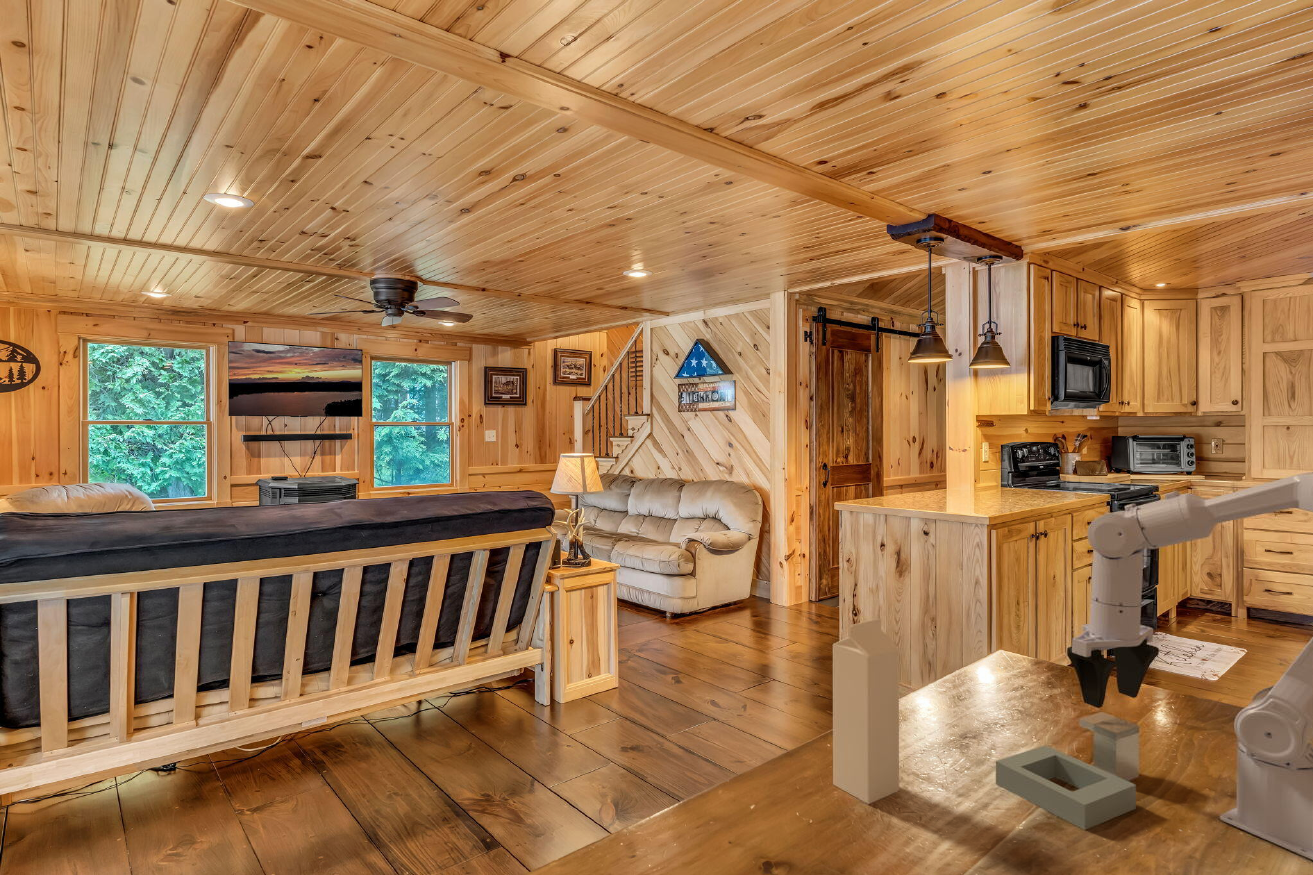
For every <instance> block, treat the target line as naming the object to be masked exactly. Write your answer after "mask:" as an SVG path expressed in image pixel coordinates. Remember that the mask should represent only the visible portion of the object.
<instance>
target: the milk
mask: <svg viewBox="0 0 1313 875" xmlns="http://www.w3.org/2000/svg"><path fill="white" fill-rule="evenodd" d="M899 648H900V647H898V645H897V644H896V643H895V642H894V641H893V640H892V639H891V638H890V637H889V636H888V635H887V634H886V633H885V632H884V630H882V620H881V618H874V619H872V620H871V619H870V620H867V621H862V622H859V623H854V624H851V625H850V626H849V637H846V638H844V639H841V640H839V641H837V642H835V643H833V644H832V760H833V761H832V765H833V766H832V768H833V770H832V775H833V776H832V777H833V778H832V780H833V782H832V784H833V786H835V787H837V788H838V789H840V790H843V791H844V792H846V793H847V794H848V795H851V796H852V797H853V798H856V799H858V800H860V801H861V802H863V803H865V804H867V805H870V804H873V803H874V802H877V801H879V800H881V799H883V798H886V797H888V796H890V795H894V794H895V793H897V792H899V791H900V728H899V727H900V649H899Z"/></svg>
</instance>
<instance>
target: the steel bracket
mask: <svg viewBox="0 0 1313 875" xmlns="http://www.w3.org/2000/svg"><path fill="white" fill-rule="evenodd" d="M1078 721H1079V722H1078V724H1079V725H1078V727H1082V728H1084V729H1086V730H1089V731H1091V732H1093V748H1092V749H1093V750H1092V751H1093V758H1092V759H1093V762H1092V763H1093V765H1092V766H1094V767H1097V768H1099V769H1101V770H1103V771H1106V772H1108V773H1110V774H1112V775H1115V776H1117V777H1119V778H1122V779H1124V780H1126V781H1128V782H1130V781H1131V780H1135V779H1137V778H1139V777H1140V776H1139V773H1140V769H1139V768H1140V766H1139V765H1140V725H1139V724H1137V723H1133V722H1132V721H1128V720H1126V719H1122V718H1120V717H1117V716H1115V715H1111V714H1110V713H1109V714H1108V713H1106V712H1103V711H1100V712H1096V713H1093V714H1089V715H1087V716H1084V717H1080V718H1078Z"/></svg>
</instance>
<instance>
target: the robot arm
mask: <svg viewBox="0 0 1313 875" xmlns="http://www.w3.org/2000/svg"><path fill="white" fill-rule="evenodd" d="M1163 496H1164V499H1160V500H1155V501H1152V502H1148V503H1144V504H1141V505H1137V504H1136V503H1130V504H1127V505H1124V510H1120V511H1114V512H1105V513H1104V514H1103V515H1100V516H1098V517H1096V518H1095V519H1093V520H1092V521H1091V523H1090V524H1089V525H1088V528H1087V533H1086V534H1087V540H1088V543H1089V545H1090V546H1091V548H1092V549H1093V552H1092V553H1093V555H1092V565H1091V580H1090V581H1091V583H1090V604H1089V606H1090V608H1089V623H1085V624H1082V625H1081V628H1080V629H1081V630H1082V633H1081V634H1080V635H1078V636H1076V637H1072V639H1071V640H1072V642H1071V646H1068V647H1067V649H1066V655H1067V658H1068V659H1069V661H1070V662H1071V663H1072V666H1073V669H1074V671H1075V673H1076V675H1077V678H1078V683H1079V686H1080V690H1081V694H1082V696H1081V697H1082V699H1083V703H1084V704H1087V705H1088V706H1091V707H1094V708H1097V709H1101V708H1103V705H1104V703H1105V699H1106V692H1107V685H1108V682H1109V678H1110V676H1111V674H1112V672H1113V669H1114V668H1116V685H1117V690H1118V693H1119V694H1122V695H1124V696H1127V697H1130V698H1132V699H1135V698H1137V697H1138V695H1139V692H1140V689H1141V687H1142V684H1143V681H1144V678H1145V676H1146V674H1147V671H1148V669H1149V668H1150V666H1151V665H1152V663H1153V661H1154V660H1155V659H1156V658H1157V657H1158V656H1159V654H1160V653H1159V652H1160V649H1159V647H1157V646H1155V645H1153V644H1149V643H1152V642H1153V641H1154V628H1152V627H1150V626H1146V625H1142V624H1141V616H1142V615H1141V613H1142V612H1141V611H1142V610H1141V609H1142V596H1143V595H1142V592H1143V591H1142V590H1143V576H1144V575H1143V572H1144V571H1143V560H1144V558H1143V556H1144V552H1143V551H1144V550H1145V549H1150V550H1156V549H1159V548H1160V549H1161V548H1165V547H1169V546H1173V545H1178V544H1183V543H1188V542H1193V541H1196V540H1202V539H1205V538H1208V537H1210V536H1211V535H1212V533H1213V530H1214V529H1215V527H1216V525H1218V524H1221V523H1226V522H1230V521H1234V520H1241V519H1246V518H1249V517H1250V518H1251V517H1255V516H1260V515H1265V514H1270V513H1274V512H1275V513H1276V512H1280V511H1285V510H1289V509H1298V510H1303V511H1307V512H1310V513H1313V471H1311V472H1305V473H1299V474H1295V475H1291V476H1287V477H1284V478H1281V479H1278V480H1272V481H1269V482H1264V483H1262V484H1259V485H1255V486H1251V487H1249V488H1248V487H1247V488H1244V489H1240V490H1237V491H1234V492H1230V493H1225V494H1222V495H1219V496H1215V497H1212V498H1204V497H1200V496H1198V495H1196V494H1193V493H1191V492H1186V493H1183V494H1180V493H1179V491H1178V490H1175V491H1172V492H1169V493H1165V494H1164V495H1163ZM1111 649H1112V654H1113V656H1114V660H1113V659H1110V658H1107V657H1105V654H1102V652H1103V651H1107V650H1111ZM1289 665H1290V666H1289V667H1288V668H1287V669H1286V671H1285V672H1283V675H1282V676H1281V677H1280V678H1279V680H1278V681H1277V682H1276V683H1275V684H1274V685H1272V686H1269V687H1265V688H1262V689H1261V690H1258V692H1257V693H1256V694H1255V695H1254V696H1253V698H1252V699H1251V702H1249V704H1248V705H1247V706H1246V707H1244V708H1242V709H1241V710H1240V711H1239V712H1238V713H1237V715H1236V716H1235V719H1234V722H1233V725H1234V727H1233V728H1234V733H1235V736H1236V737H1237V742H1236V743H1237V744H1236V745H1237V751H1236V753H1237V756H1236V758H1237V759H1236V761H1237V762H1236V763H1237V764H1236V806H1235V808H1232V809H1230V810H1228V811H1226V812H1223V813H1222V814H1220V815H1219V819H1220V820H1221V821H1222V822H1225V823H1228V824H1229V825H1231V826H1234V827H1235V828H1238V829H1241V830H1244V831H1245V832H1247V833H1250V834H1252V835H1255V836H1257V837H1259V838H1261V839H1263V840H1265V841H1266V840H1267V841H1268V842H1270V843H1273V844H1275V845H1278V846H1280V847H1282V848H1284V849H1287V850H1289V851H1291V852H1294V853H1295V854H1297V855H1300V856H1303V857H1305V858H1307V859H1310V860H1311V861H1313V745H1312V744H1311V743H1310V742H1311V739H1312V738H1313V636H1312V637H1311V639H1309V641H1308V643H1307V644H1305V646H1304V648H1303V649H1302V650H1301V651H1300V653H1299V654H1298V655H1297V656H1296V658H1295V659H1294V660H1293V662H1292V663H1291V664H1289Z"/></svg>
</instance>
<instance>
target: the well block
mask: <svg viewBox="0 0 1313 875" xmlns="http://www.w3.org/2000/svg"><path fill="white" fill-rule="evenodd" d="M1053 778H1056V779H1059V780H1061V781H1063V782H1065V783H1067V784H1069V785H1071V786H1073V787H1075V788H1077V789H1076V790H1074V791H1071V790H1069V789H1067V788H1065V787H1063V786H1061V785H1059V784H1057V783H1055V782H1053V781H1051V779H1053ZM995 784H996V785H998V786H1000V787H1001V788H1004V789H1006V790H1007V791H1009V792H1011V793H1013V794H1015V795H1017V796H1019V797H1021V798H1023V799H1024V800H1026V801H1029V802H1030V803H1032V804H1034V805H1035V806H1038V807H1039V808H1042V809H1044V810H1045V811H1048V812H1050V813H1051V814H1053V815H1055V816H1057V817H1059V818H1060V819H1062V820H1064V821H1066V822H1068V823H1071V824H1072V825H1073V826H1075V827H1078V828H1079V829H1082V830H1084V831H1086V830H1088V829H1091V828H1093V827H1095V826H1098V825H1101V824H1102V823H1105V822H1107V821H1109V820H1112V819H1115V818H1117V817H1119V816H1121V815H1124V814H1126V813H1129V812H1131V811H1133V810H1136V809H1137V808H1136V806H1137V804H1136V802H1137V796H1136V795H1137V785H1136V784H1135V783H1133V782H1130V781H1126V780H1124V779H1122V778H1119V777H1117V776H1115V775H1112V774H1110V773H1108V772H1106V771H1103V770H1101V769H1099V768H1097V767H1094V766H1093V765H1092V764H1089V763H1088V762H1085V761H1083V760H1080V759H1078V758H1075V757H1073V756H1071V755H1069V754H1067V753H1065V752H1062V751H1060V750H1057V749H1055V748H1052V747H1051V746H1048V745H1045V744H1044V745H1042V746H1038V747H1035V748H1032V749H1029V750H1026V751H1022V752H1019V753H1017V754H1014V755H1013V754H1012V755H1010V756H1007V757H1004V758H1001V759H998V760H995Z"/></svg>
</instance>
